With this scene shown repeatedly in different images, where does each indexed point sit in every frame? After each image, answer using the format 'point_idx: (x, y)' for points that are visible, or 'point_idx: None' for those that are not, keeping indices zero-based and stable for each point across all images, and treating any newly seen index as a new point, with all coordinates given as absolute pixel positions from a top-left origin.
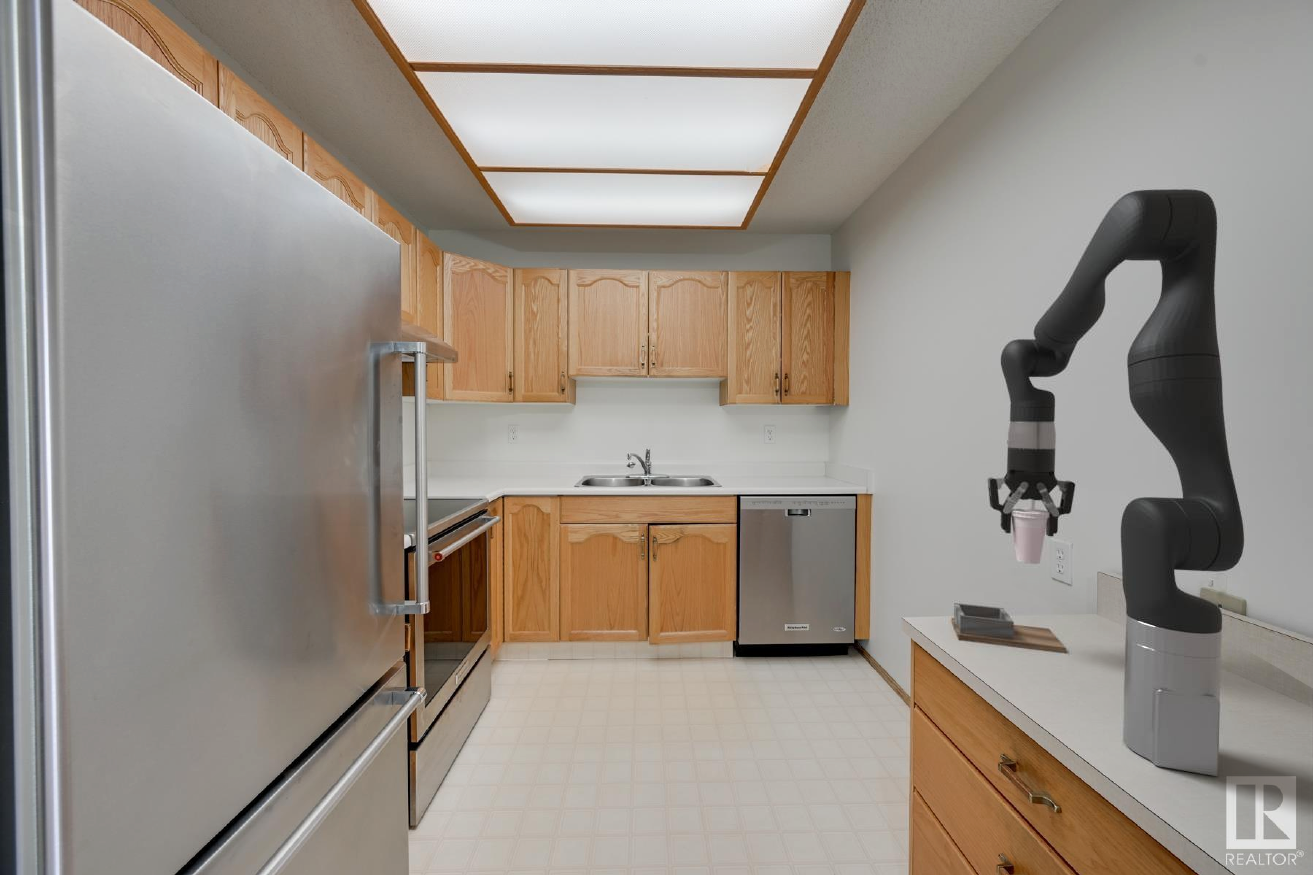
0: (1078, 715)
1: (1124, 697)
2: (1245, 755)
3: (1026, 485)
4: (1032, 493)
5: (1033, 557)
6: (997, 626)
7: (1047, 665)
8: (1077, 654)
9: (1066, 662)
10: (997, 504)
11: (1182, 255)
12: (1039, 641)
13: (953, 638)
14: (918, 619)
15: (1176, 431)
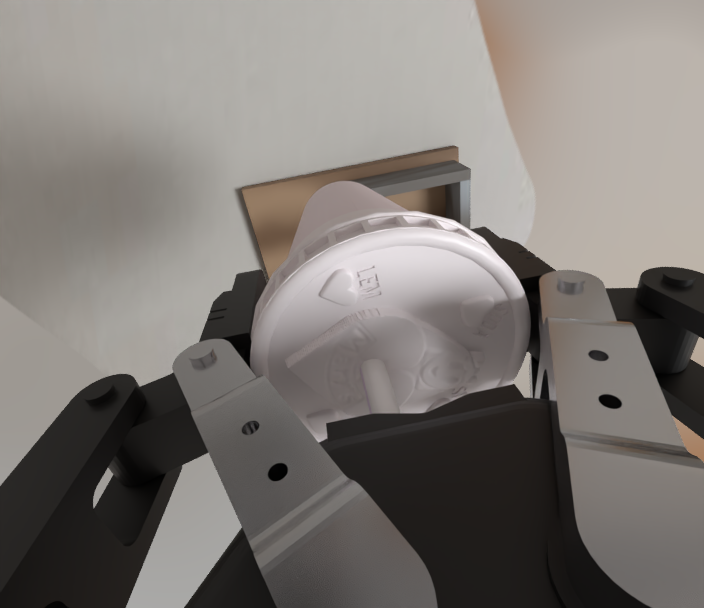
0: None
1: None
2: None
3: (614, 539)
4: (432, 472)
5: (328, 188)
6: (383, 181)
7: (276, 66)
8: (221, 194)
9: (238, 119)
10: (686, 292)
11: None
12: (293, 204)
13: (463, 150)
14: (519, 243)
15: None
